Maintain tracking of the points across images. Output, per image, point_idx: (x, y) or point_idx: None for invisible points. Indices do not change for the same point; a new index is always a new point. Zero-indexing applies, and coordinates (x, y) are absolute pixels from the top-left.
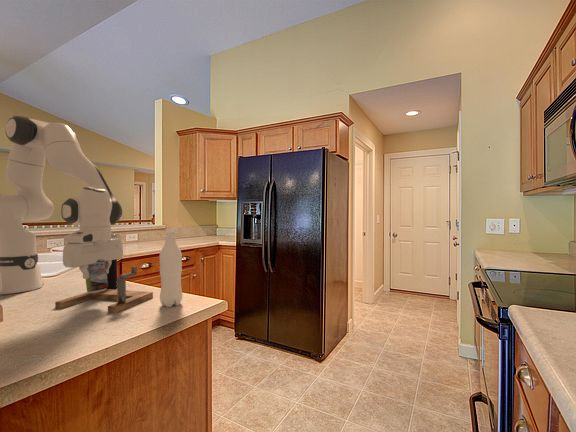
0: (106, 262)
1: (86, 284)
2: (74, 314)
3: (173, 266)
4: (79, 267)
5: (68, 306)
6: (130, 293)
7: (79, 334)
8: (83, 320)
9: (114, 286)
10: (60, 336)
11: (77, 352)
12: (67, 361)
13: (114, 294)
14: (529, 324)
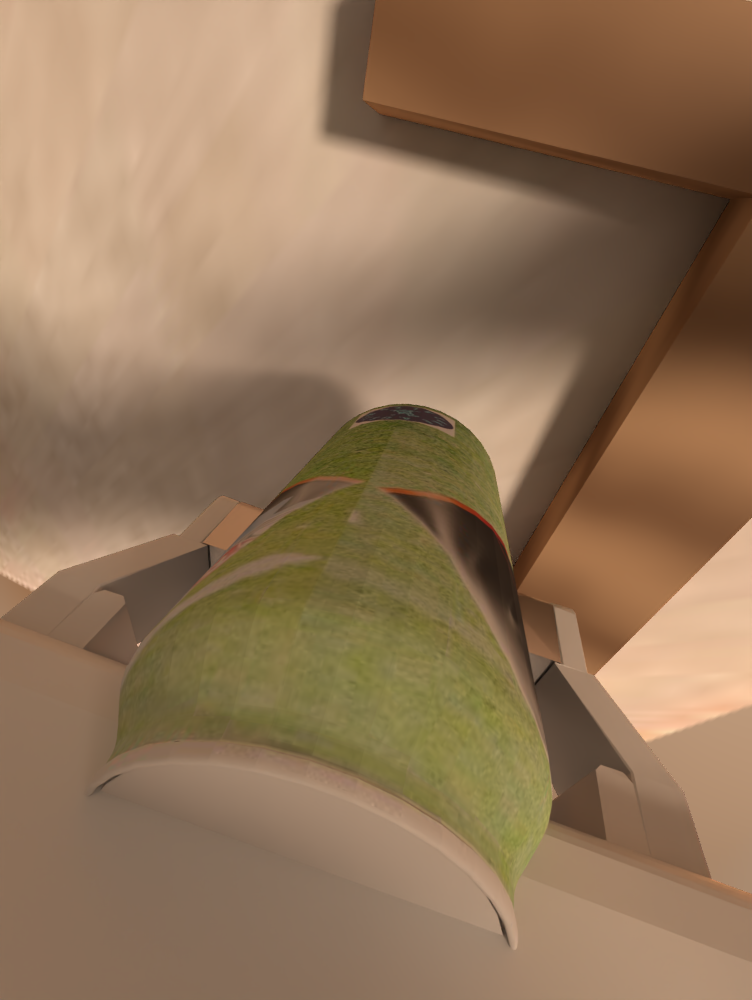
0: (554, 820)
1: (314, 456)
2: (264, 362)
3: None
4: (39, 591)
5: (441, 127)
6: (589, 586)
7: (103, 529)
8: (203, 471)
9: None
10: (63, 478)
11: (38, 574)
12: (6, 573)
13: (591, 490)
14: None
